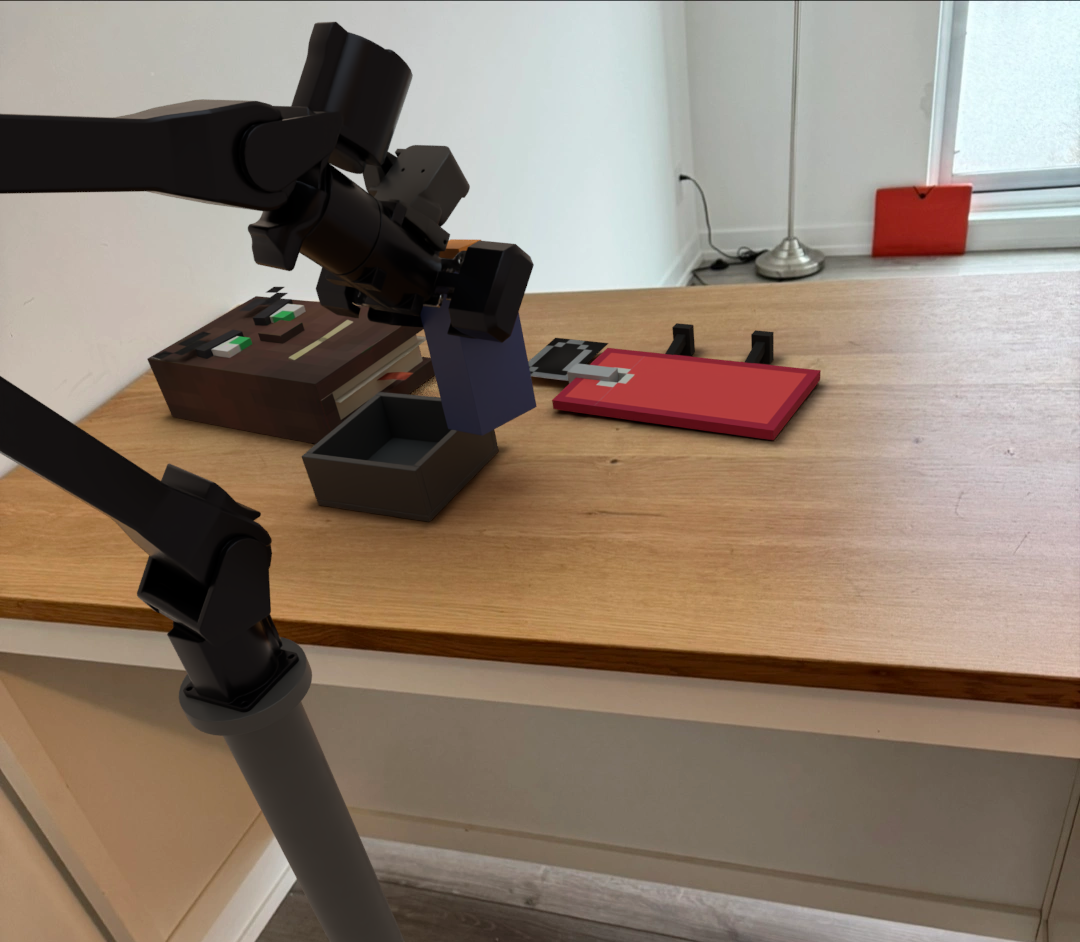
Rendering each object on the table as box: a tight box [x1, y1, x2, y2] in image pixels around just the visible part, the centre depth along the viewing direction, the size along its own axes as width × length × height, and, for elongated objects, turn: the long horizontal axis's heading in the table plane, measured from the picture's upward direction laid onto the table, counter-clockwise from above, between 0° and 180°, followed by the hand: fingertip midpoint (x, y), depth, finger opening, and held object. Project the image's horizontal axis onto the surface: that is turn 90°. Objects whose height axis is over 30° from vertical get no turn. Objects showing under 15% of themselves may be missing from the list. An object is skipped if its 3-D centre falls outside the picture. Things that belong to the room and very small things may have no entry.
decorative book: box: [147, 286, 435, 445], centre depth 110 cm, size 19×8×30 cm
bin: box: [300, 392, 500, 523], centre depth 92 cm, size 12×12×5 cm
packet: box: [420, 238, 537, 436], centre depth 82 cm, size 6×4×14 cm
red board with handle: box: [528, 322, 822, 441], centre depth 99 cm, size 30×3×15 cm
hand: (485, 328), depth 82 cm, fingers closed on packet, 4 cm apart
